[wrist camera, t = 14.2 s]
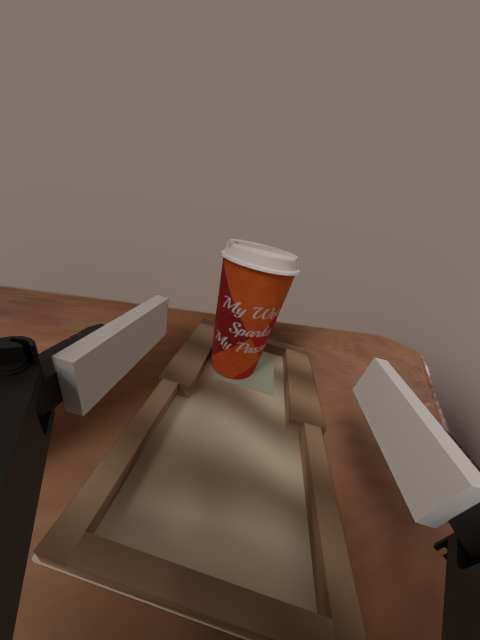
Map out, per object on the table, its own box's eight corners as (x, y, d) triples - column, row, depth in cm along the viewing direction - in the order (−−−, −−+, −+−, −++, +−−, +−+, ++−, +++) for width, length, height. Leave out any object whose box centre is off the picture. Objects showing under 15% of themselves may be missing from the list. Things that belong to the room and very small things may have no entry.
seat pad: (273, 396, 22) (273, 395, 22) (212, 377, 22) (212, 376, 22) (273, 358, 28) (274, 357, 28) (226, 344, 28) (226, 343, 28)
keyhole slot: (362, 682, 9) (387, 679, 8) (33, 562, 10) (23, 547, 9) (301, 359, 30) (306, 349, 29) (201, 329, 31) (203, 318, 30)
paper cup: (203, 387, 20) (231, 246, 14) (200, 343, 27) (218, 233, 21) (272, 387, 23) (322, 266, 16) (254, 346, 29) (285, 248, 23)
